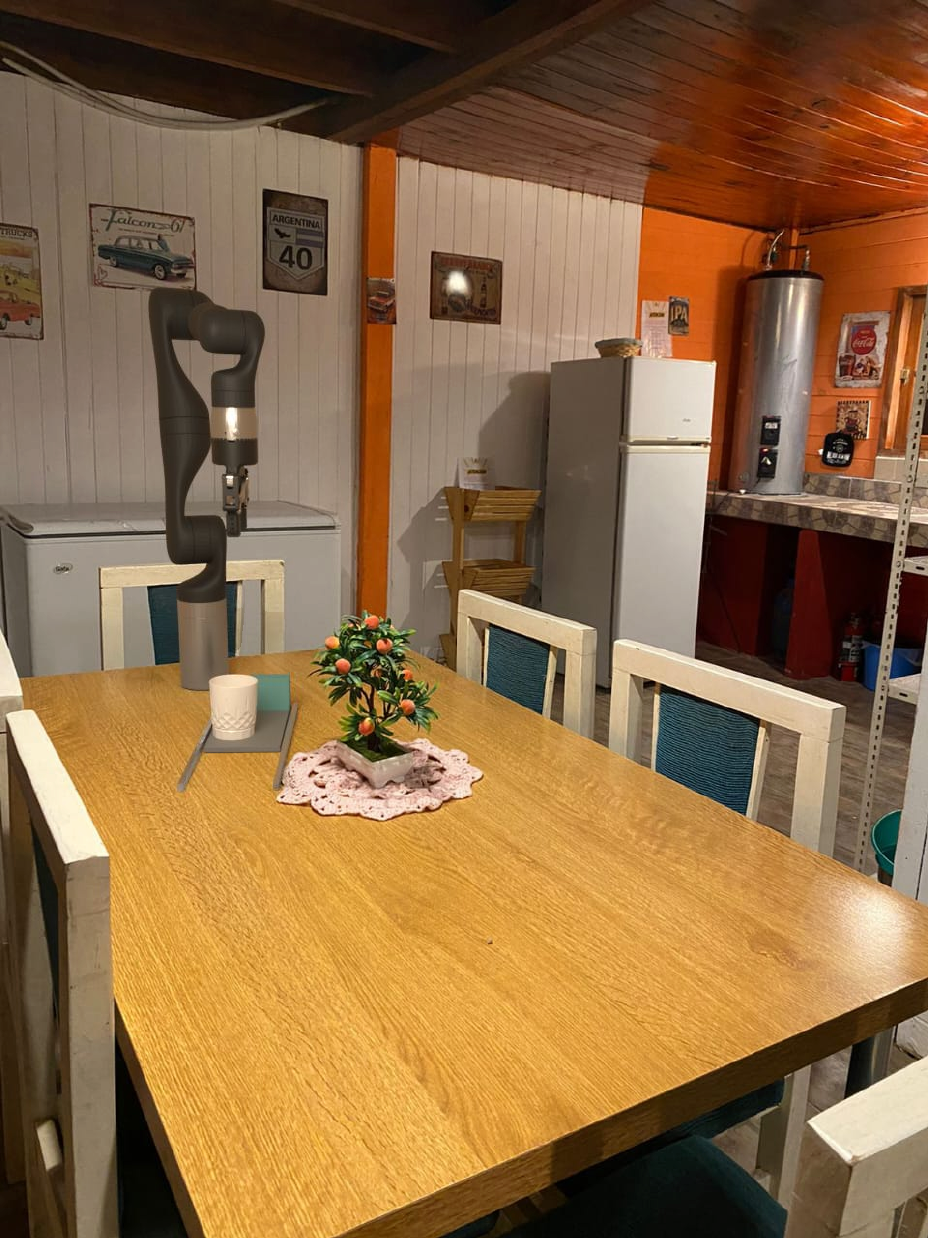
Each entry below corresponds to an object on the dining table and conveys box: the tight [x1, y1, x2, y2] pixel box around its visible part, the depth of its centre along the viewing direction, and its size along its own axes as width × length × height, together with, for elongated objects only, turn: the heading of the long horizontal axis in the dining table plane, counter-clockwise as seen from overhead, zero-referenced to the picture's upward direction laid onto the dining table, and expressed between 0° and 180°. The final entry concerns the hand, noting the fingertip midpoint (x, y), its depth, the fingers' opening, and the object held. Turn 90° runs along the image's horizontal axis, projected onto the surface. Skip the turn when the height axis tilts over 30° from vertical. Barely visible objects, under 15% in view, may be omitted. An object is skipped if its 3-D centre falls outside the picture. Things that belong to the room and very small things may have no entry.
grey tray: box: [203, 673, 292, 753], centre depth 167 cm, size 22×12×7 cm, turn 5°
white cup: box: [208, 674, 258, 740], centre depth 162 cm, size 8×8×10 cm
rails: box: [176, 701, 299, 793], centre depth 160 cm, size 38×14×1 cm, turn 5°
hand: (237, 533), depth 165 cm, fingers open, 8 cm apart
